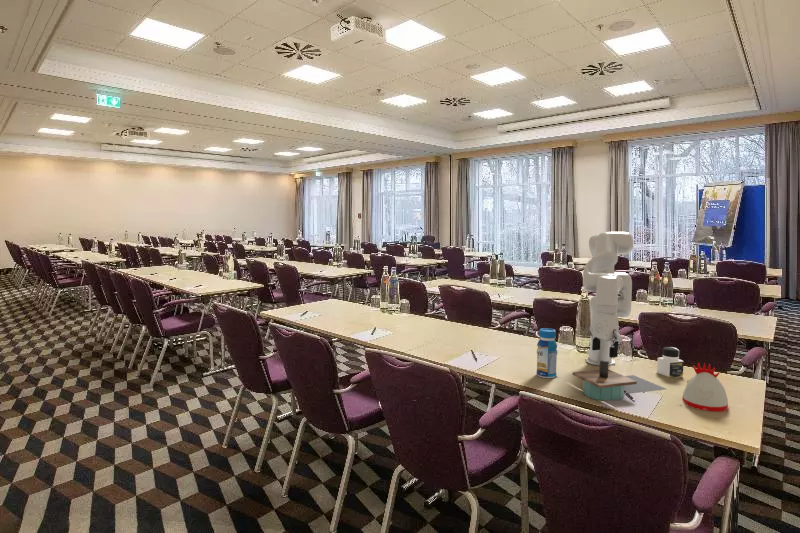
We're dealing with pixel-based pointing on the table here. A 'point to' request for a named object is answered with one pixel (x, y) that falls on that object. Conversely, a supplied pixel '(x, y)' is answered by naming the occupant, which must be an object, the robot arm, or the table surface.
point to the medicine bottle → (670, 363)
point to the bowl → (603, 392)
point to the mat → (641, 385)
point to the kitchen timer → (705, 391)
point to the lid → (604, 377)
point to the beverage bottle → (546, 353)
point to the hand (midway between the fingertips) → (604, 353)
